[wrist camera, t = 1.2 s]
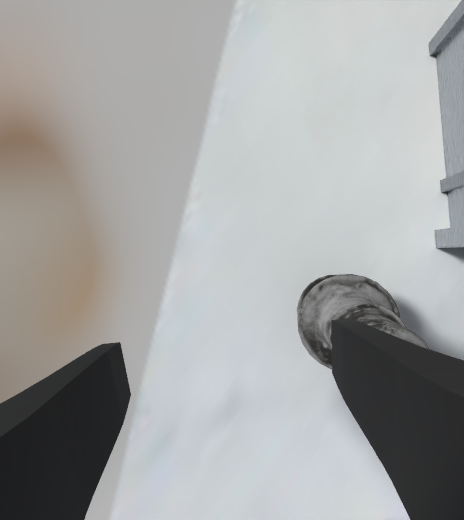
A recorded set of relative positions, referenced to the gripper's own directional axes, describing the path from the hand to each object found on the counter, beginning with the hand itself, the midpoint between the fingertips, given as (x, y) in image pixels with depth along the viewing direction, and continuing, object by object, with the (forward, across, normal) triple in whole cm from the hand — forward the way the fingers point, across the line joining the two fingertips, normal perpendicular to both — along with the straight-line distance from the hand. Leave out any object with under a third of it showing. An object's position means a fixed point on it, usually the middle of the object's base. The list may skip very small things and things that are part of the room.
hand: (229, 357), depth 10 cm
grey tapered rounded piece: (+11, -8, +4) cm, 14 cm away
